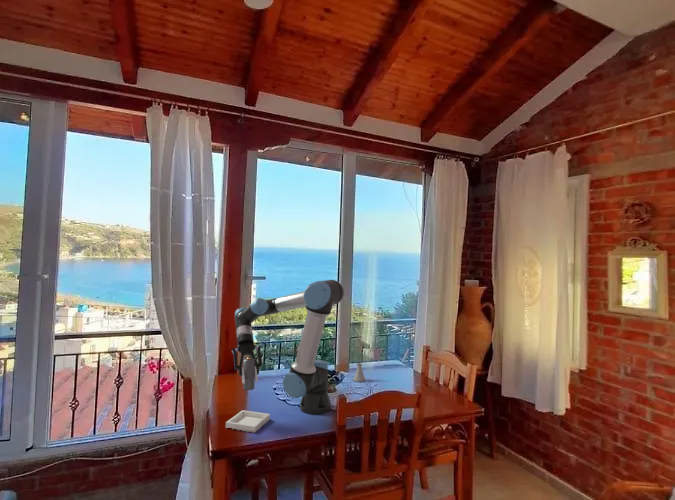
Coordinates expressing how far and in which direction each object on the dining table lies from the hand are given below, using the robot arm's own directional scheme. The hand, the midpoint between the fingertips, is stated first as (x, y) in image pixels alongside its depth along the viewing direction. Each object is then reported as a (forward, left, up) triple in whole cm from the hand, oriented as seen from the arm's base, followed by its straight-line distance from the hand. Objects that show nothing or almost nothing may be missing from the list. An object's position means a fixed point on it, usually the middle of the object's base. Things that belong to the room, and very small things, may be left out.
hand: (250, 381), depth 180 cm
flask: (-32, -72, -18) cm, 81 cm away
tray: (0, +2, -18) cm, 18 cm away
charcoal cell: (+2, -3, -4) cm, 6 cm away
